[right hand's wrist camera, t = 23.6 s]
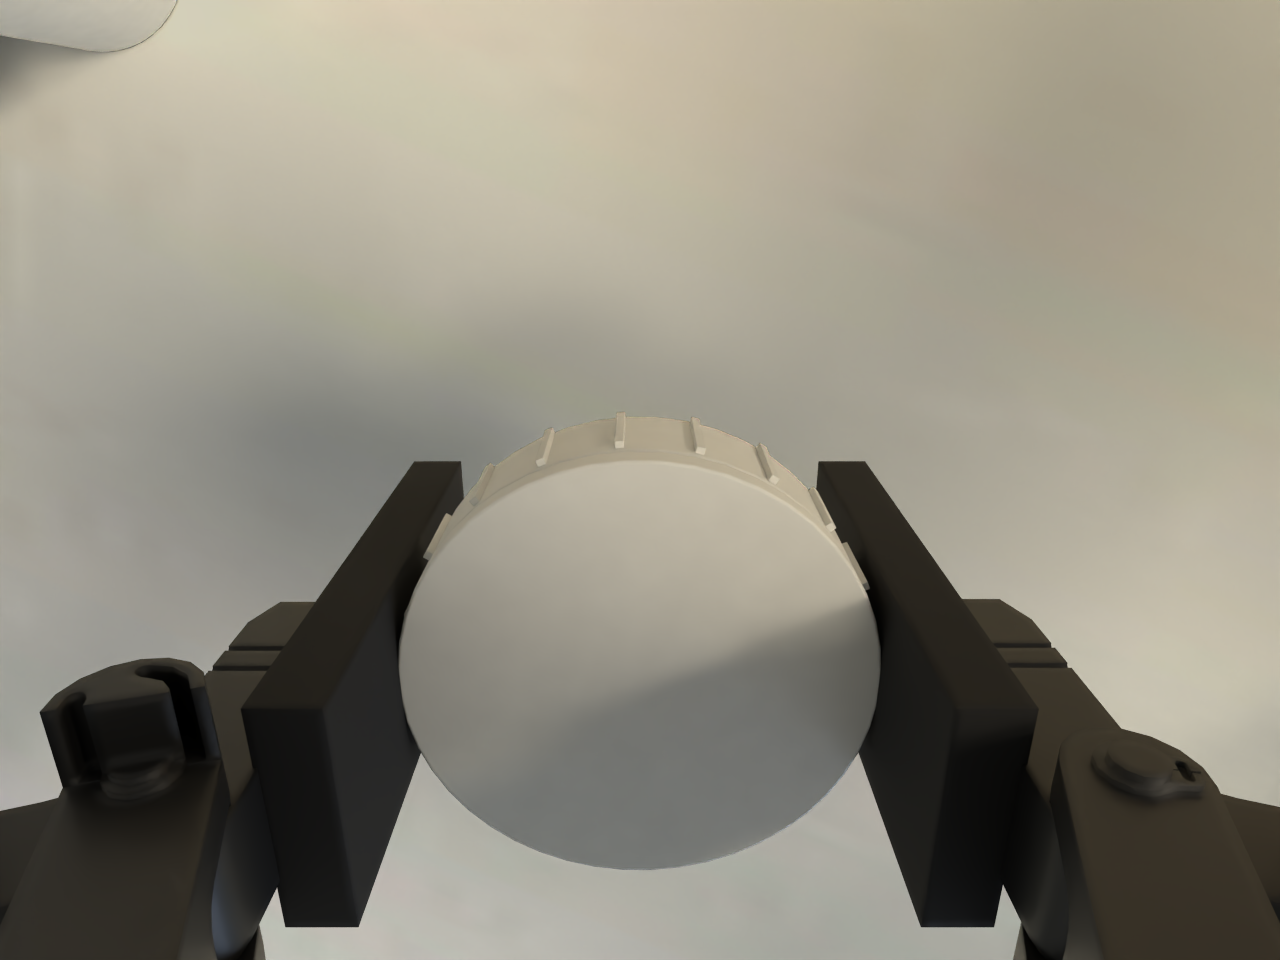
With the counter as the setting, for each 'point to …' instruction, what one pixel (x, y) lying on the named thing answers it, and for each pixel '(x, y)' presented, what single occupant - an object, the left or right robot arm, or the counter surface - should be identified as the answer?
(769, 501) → the lid
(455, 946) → the counter surface
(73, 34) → the jar
